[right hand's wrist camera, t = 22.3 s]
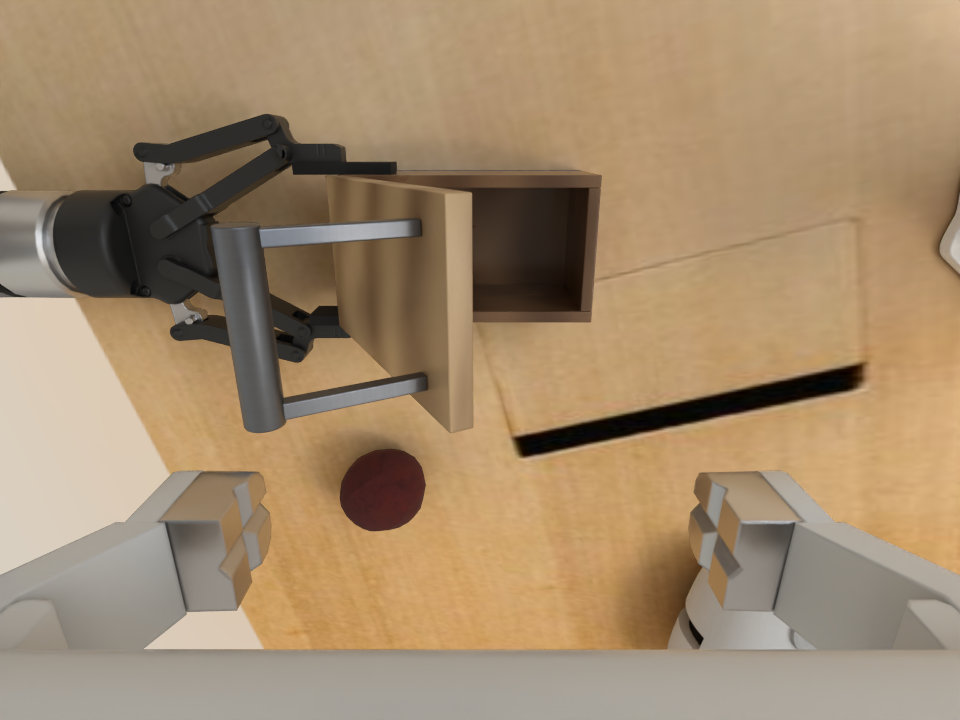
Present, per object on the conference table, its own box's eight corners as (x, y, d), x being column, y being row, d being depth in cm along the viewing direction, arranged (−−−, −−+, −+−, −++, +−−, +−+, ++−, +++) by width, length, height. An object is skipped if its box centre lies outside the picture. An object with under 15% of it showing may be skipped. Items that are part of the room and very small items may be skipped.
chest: (578, 170, 44) (601, 174, 35) (571, 291, 47) (591, 322, 39) (365, 170, 44) (336, 174, 35) (373, 291, 47) (349, 322, 39)
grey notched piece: (715, 710, 65) (778, 860, 51) (615, 583, 58) (656, 716, 44) (899, 625, 60) (1023, 765, 46) (813, 477, 54) (927, 589, 40)
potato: (334, 468, 53) (314, 513, 47) (390, 418, 51) (377, 458, 45) (390, 515, 55) (378, 564, 48) (446, 469, 53) (441, 514, 47)
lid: (472, 192, 20) (210, 201, 17) (473, 428, 24) (257, 482, 20) (343, 175, 35) (187, 178, 31) (355, 323, 38) (216, 343, 34)
